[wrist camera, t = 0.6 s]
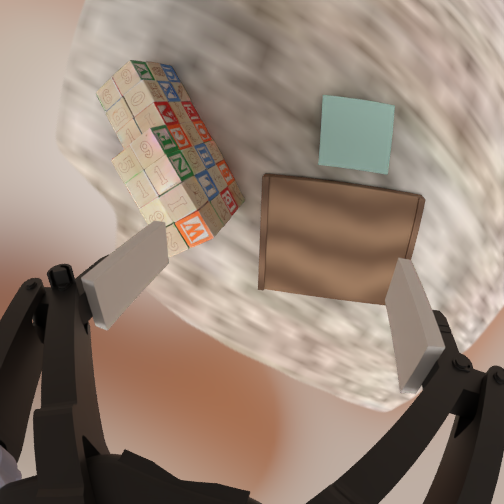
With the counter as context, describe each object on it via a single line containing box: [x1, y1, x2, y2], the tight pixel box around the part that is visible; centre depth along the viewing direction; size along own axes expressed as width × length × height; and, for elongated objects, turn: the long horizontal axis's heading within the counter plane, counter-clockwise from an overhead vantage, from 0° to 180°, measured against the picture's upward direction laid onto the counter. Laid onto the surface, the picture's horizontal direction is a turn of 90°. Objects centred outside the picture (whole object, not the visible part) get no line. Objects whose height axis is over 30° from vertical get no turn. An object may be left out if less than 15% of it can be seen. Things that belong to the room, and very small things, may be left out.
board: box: [258, 174, 425, 305], centre depth 37 cm, size 16×20×2 cm
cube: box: [318, 95, 395, 175], centre depth 28 cm, size 7×7×7 cm
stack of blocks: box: [96, 60, 245, 258], centre depth 31 cm, size 21×6×12 cm, turn 28°
